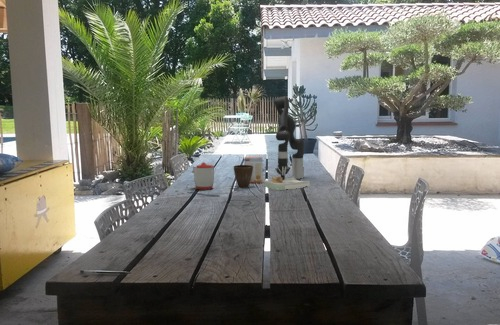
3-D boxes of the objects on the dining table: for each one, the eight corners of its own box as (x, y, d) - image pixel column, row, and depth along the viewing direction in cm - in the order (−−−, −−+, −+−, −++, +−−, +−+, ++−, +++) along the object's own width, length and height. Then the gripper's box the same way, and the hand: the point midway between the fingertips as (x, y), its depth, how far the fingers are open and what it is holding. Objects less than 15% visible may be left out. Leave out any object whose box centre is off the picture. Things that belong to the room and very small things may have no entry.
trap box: (294, 183, 383) (294, 177, 383) (309, 187, 366) (309, 181, 366) (264, 186, 370) (264, 180, 369) (278, 190, 352) (278, 184, 352)
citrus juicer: (197, 186, 372) (196, 160, 370) (217, 187, 366) (217, 161, 364) (187, 189, 357) (187, 162, 355) (209, 191, 352) (209, 163, 349)
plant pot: (251, 189, 359) (251, 167, 357) (231, 188, 362) (231, 167, 360) (254, 185, 373) (254, 165, 371) (236, 185, 376) (235, 164, 374)
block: (278, 181, 373) (278, 176, 372) (282, 182, 368) (282, 177, 368) (272, 182, 370) (272, 177, 369) (275, 183, 365) (275, 178, 365)
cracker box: (262, 182, 390) (262, 156, 388) (261, 183, 384) (261, 157, 382) (245, 181, 392) (245, 156, 389) (244, 183, 386) (244, 157, 383)
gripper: (287, 156, 375) (287, 178, 378) (272, 157, 369) (272, 179, 371) (292, 157, 369) (292, 179, 371) (278, 158, 362) (278, 181, 365)
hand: (282, 179), depth 371 cm, fingers closed
